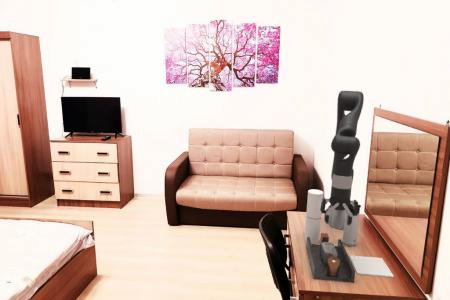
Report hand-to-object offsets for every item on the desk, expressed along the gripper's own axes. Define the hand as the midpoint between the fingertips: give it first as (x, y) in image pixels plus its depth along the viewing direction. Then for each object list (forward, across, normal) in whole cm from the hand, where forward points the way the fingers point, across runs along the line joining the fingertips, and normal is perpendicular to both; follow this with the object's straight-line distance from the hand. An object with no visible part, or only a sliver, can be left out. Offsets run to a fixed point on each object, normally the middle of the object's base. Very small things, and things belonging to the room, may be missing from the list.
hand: (337, 223), depth 134 cm
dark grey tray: (+20, +1, -4) cm, 20 cm away
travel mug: (+18, -12, -23) cm, 32 cm away
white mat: (+19, -16, -4) cm, 25 cm away
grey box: (+16, +1, -4) cm, 17 cm away
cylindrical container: (+19, +5, -24) cm, 31 cm away
